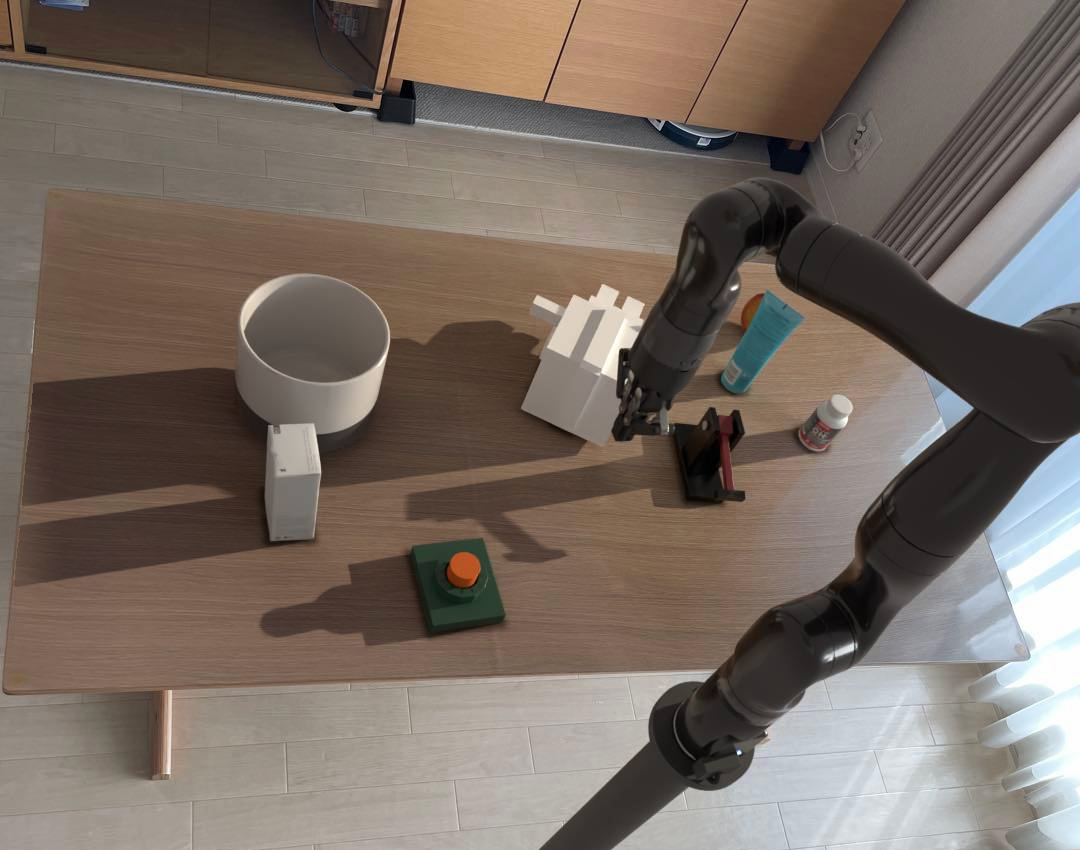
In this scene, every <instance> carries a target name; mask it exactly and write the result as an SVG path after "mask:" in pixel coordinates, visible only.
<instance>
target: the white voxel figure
mask: <svg viewBox="0 0 1080 850" xmlns="http://www.w3.org/2000/svg"><path fill="white" fill-rule="evenodd" d="M619 294H620V291H619V290H617V289H615V288H612V287H611V286H608V285H606V284H604V283H602V284H601V285H600V288H599V290H598V291H597V294H596V296H594V295H593V294H592V295H590V297H589V299H588V300H587V299H585V298H583V297H581V296H578V295H576V294H573V295H572V297H571V299H570V301H569V303H568V305H567V307H565V306H564V307H563V306H562V305H561V304H557V303H556V302H553V301H551V300H550V299H547V298H545V297H543V296H541V295H539V294H537V295H536V296H535V298H534V300H533V301H532V304H531V306H530V309H529V311H528V315H530V316H532V317H534V318H536V319H538V320H540V321H542V322H545V323H546V324H549V325H551V326H553V327H552V329H551V330H550V333H549V334H548V336H547V339H546V341H545V343H544V346H543V348H542V350H541V352H540V355H539V357H538V360H540V363H539V364H538V366H537V369H536V372H535V374H534V377H533V379H532V381H531V383H530V386H529V388H528V391H527V393H526V395H525V397H524V400H523V402H522V405H521V407H520V410H522V411H524V412H526V413H528V414H531V415H533V416H535V417H537V418H539V419H541V420H543V421H546V422H548V423H549V424H552V425H553V426H556V427H558V428H560V429H561V430H564V431H567V432H569V433H571V434H572V435H576V436H578V438H579V437H580V438H581V439H584V440H586V441H588V442H590V443H592V444H594V445H596V446H599V447H601V448H604V447H605V446H606V443H607V442H608V440H609V438H610V437H611V434H612V432H611V429H612V428H613V425H614V421H615V419H616V418H617V416H618V414H619V405H620V403H621V399H618V398H617V396H616V386H617V372H618V357H619V350H620V348H631V347H632V345H633V343H634V341H635V340H636V338H637V336H638V334H639V332H640V330H641V328H642V326H643V324H644V322H645V320H644V319H643V318H640V316H641V314H642V312H643V309H644V307H645V305H646V303H644V302H642V301H640V300H638V299H636V298H634V297H631V296H629V295H627V297H626V299H625V301H624V303H623V306H621V308H620V307H618V306H615V305H614V304H615V303H616V300H617V298H618V296H619ZM627 380H628V379H626V380H625V384H626V382H627Z"/></svg>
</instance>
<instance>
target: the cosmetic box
mask: <svg viewBox="0 0 1080 850" xmlns="http://www.w3.org/2000/svg"><path fill="white" fill-rule="evenodd" d="M320 459H321V458H320V453H319V451H318V445H317V438H316V432H315V427H314V424H313V423H311V424H309V423H308V424H284V425H268V438H267V442H266V461H265V480H264V481H265V482H264V506H265V513H266V520H267V521H266V522H267V528H268V533H269V541H270V542H279V541H282V542H283V541H306V540H313V539H314V538H315V529H316V521H317V513H318V503H319V502H318V501H319V493H320V484H321V483H320V482H321V476H322V467H321V460H320Z"/></svg>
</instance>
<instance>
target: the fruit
mask: <svg viewBox="0 0 1080 850" xmlns="http://www.w3.org/2000/svg"><path fill="white" fill-rule="evenodd" d="M764 294H765V292H764V293H763V292H761V293H756V294H755V295H754V296H753V297H751V298H750V299H749V300H748V301H747V302H746V303H745V304H744V306H743V309H742V310H741V314H740V324H741V325H740V326H741V328H742V329H741V330H742V331H743V333H744V334H745V332H746V330H747V329H748V327H749V325H750V323H751V321H752V319H753V317H754V315H755V313H756V311H757V309H758V307H759V305H760V303H761V301H762V299H763V296H764Z"/></svg>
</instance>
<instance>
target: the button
mask: <svg viewBox="0 0 1080 850" xmlns="http://www.w3.org/2000/svg"><path fill="white" fill-rule="evenodd" d="M479 572H480V563H479V561H478V559H477V558H476V557H475V556H474V555H472V554H470V553H467V552H461V553H457V554H456V555H454V556H453V557H452V559H451V561H450V563H449V566H448V568H447V572H446V575H447V579H448V580H449V582H450V583H451V584H452V585H454V586H455V587H458V588H468V587H470V586H472V585H473V584H474V582H475V580H476V578H477V576H478V574H479Z"/></svg>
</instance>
